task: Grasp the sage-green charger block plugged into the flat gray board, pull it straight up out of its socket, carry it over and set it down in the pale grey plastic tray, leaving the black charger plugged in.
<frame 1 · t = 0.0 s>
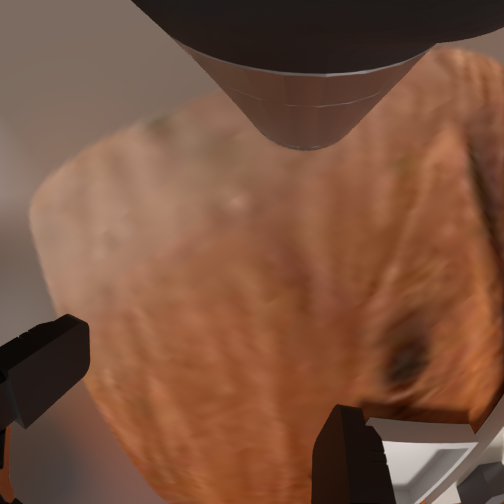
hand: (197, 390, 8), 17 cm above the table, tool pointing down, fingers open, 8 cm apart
tray: (394, 461, 28), on the table
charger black: (479, 474, 23), point 3 cm above the table, touching flat gray board
flat gray board: (496, 431, 25), on the table
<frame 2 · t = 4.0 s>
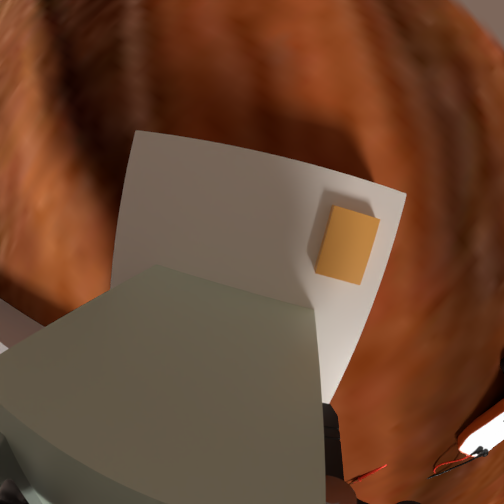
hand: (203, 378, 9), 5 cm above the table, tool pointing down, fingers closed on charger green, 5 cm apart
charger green: (216, 355, 10), point 4 cm above the table, touching gripper, flat gray board
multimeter: (465, 435, 14), on the table
tray: (32, 389, 18), on the table
flat gray board: (210, 421, 15), on the table
when the fingers open (6 cm above the table, at t = 11.5 s): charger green drops 1 cm, resting on tray.
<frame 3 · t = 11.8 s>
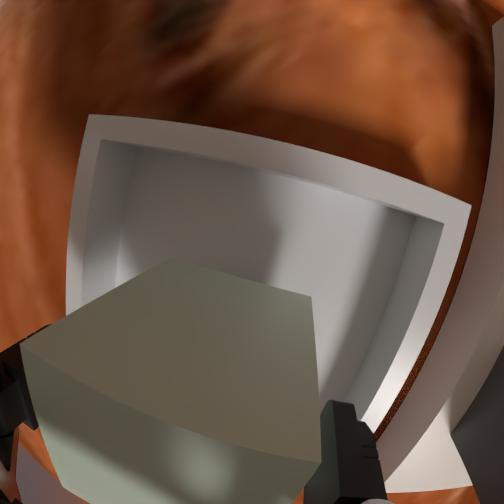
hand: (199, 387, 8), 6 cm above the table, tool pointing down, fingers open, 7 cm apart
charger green: (224, 339, 12), point 3 cm above the table, touching tray
tray: (239, 310, 15), on the table
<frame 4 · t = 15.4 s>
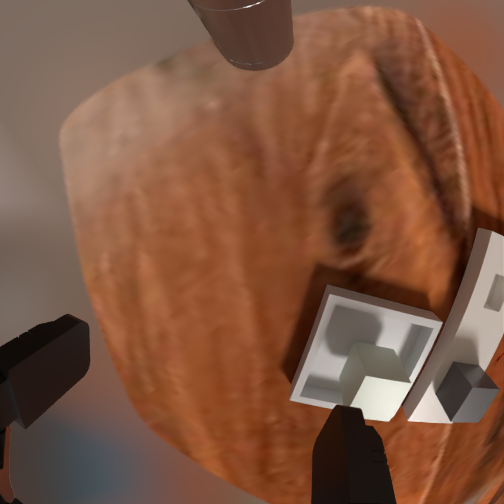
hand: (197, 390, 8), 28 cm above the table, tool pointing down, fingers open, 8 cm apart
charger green: (366, 363, 34), point 3 cm above the table, touching tray
tray: (362, 351, 37), on the table
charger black: (457, 379, 32), point 3 cm above the table, touching flat gray board
flat gray board: (466, 331, 34), on the table
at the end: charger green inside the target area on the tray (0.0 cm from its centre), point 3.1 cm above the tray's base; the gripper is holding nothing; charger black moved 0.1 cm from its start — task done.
